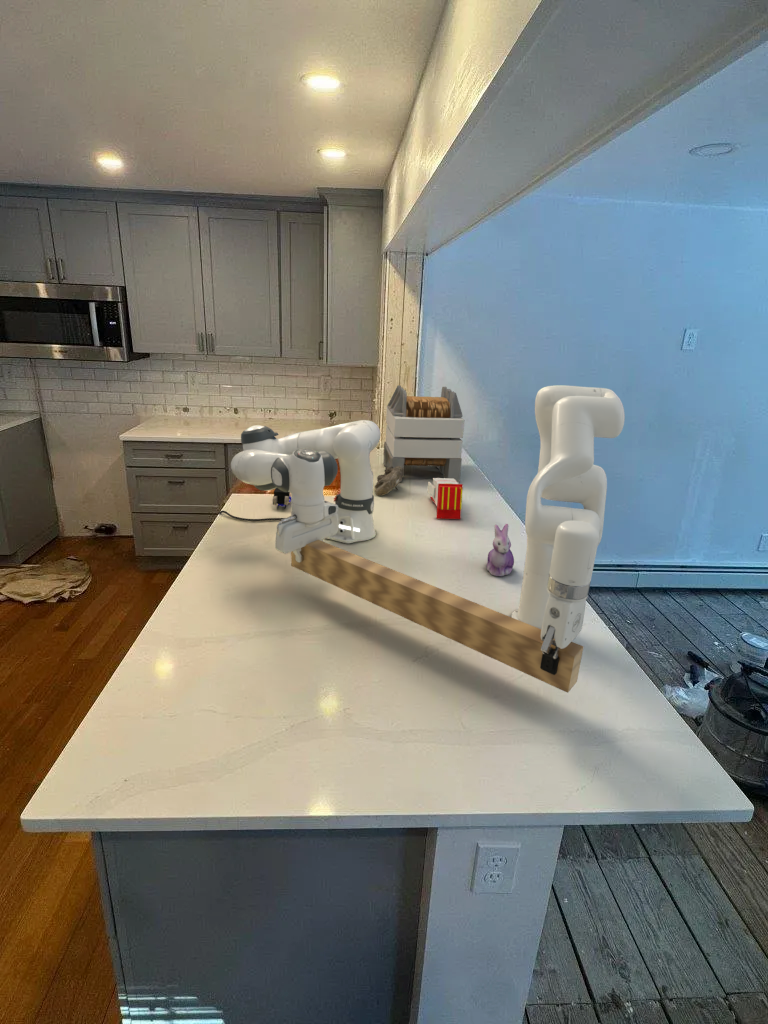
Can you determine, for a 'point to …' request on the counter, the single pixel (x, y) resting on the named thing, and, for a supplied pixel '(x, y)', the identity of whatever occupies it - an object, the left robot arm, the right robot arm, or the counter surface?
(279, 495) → the figurine character
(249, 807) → the counter surface
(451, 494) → the toy
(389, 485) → the fossil
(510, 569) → the figurine
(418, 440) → the grey crate shelf
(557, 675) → the post
